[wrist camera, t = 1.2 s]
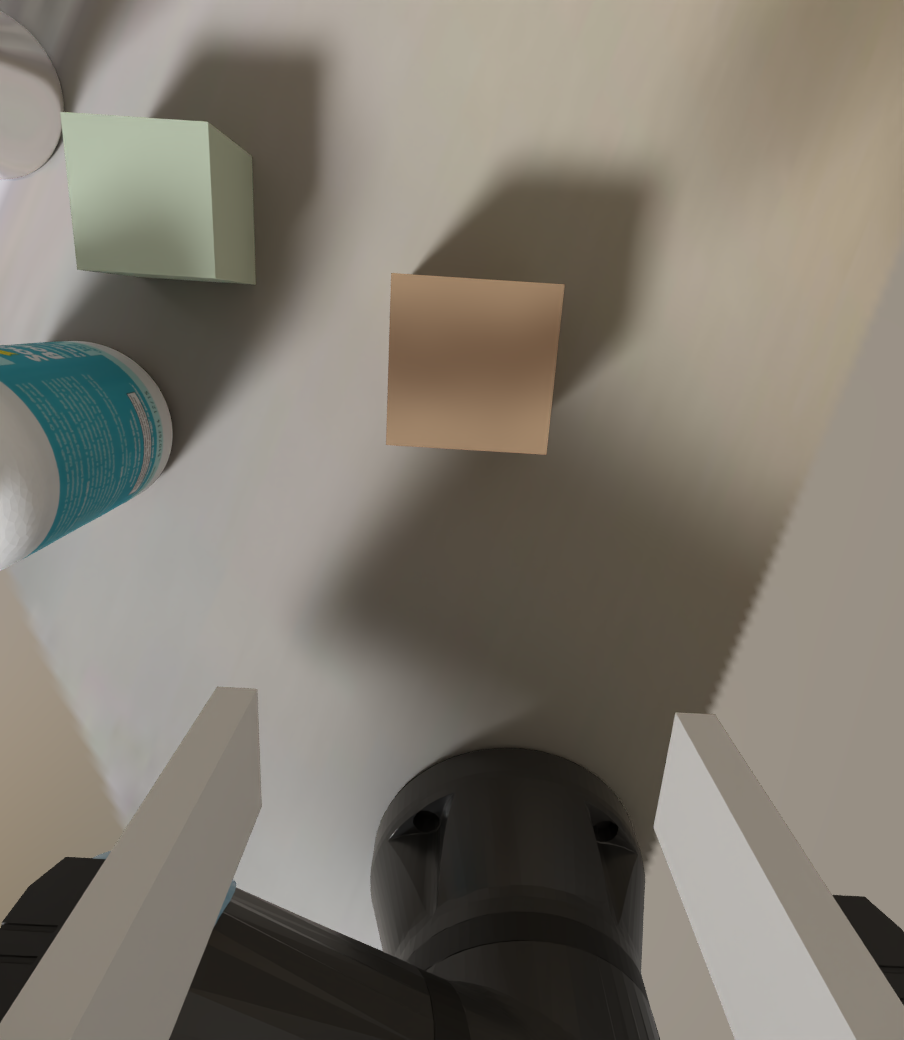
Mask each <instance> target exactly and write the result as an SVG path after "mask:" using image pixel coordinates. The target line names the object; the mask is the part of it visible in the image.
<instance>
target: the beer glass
mask: <svg viewBox="0 0 904 1040" xmlns="http://www.w3.org/2000/svg"><path fill="white" fill-rule="evenodd" d="M60 112H64V100H63V93H62V88H61V85H60V81H59V78H58V75H57V73H56V70H55V68H54V66H53V64H52V62H51V60H50V58H49V57H48V55H47V53H46V52H45V50H44V49H43V47H42V46H41V45H40V43H39V42H38V41H37V40H36V38H35V37H34V36H33V35H32V34H31V33H30V32H29V31H28V30H27V29H26V28H25V27H24V26H22V25H21V24H20V23H19V22H17V21H16V20H15V19H13V18H12V17H10V16H8V15H7V14H5V13H3V12H1V11H0V180H6V179H15V178H20V177H23V176H26V175H28V174H30V173H32V172H34V171H36V170H37V169H38V168H40V167H41V166H42V165H43V164H44V163H45V162H46V161H47V160H48V159H49V158H50V156H51V155H52V154H53V152H54V150H55V149H56V147H57V144H58V142H59V140H60V137H61V133H62V124H61V115H60Z"/></svg>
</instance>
